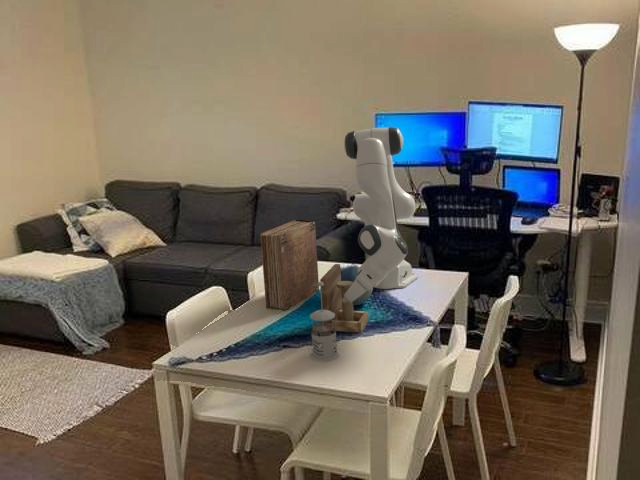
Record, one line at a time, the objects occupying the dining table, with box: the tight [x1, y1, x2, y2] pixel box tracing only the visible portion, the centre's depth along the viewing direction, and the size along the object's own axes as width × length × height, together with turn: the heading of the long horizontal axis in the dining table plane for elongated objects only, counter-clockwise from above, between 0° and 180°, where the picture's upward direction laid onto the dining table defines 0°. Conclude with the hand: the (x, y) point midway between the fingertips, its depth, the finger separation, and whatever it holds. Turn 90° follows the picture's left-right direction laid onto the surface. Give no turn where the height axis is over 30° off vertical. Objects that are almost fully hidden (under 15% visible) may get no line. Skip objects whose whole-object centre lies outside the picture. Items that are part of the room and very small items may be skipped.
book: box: [259, 219, 320, 312], centre depth 261 cm, size 25×9×30 cm, turn 149°
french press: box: [309, 281, 341, 363], centre depth 210 cm, size 10×12×25 cm
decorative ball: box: [341, 265, 374, 306], centre depth 254 cm, size 15×15×15 cm
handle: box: [337, 281, 355, 321], centre depth 233 cm, size 5×6×15 cm
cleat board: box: [319, 263, 370, 333], centre depth 232 cm, size 13×18×20 cm
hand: (345, 298), depth 233 cm, fingers closed on handle, 3 cm apart
